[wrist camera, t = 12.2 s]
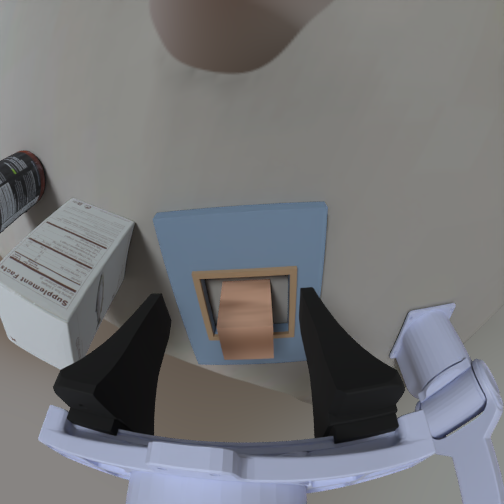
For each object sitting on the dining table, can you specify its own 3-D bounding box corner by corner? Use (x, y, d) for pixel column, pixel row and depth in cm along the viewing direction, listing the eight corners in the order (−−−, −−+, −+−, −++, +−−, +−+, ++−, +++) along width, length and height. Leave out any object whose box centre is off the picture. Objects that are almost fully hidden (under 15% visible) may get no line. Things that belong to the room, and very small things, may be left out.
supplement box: (125, 279, 27) (77, 380, 16) (67, 254, 25) (5, 339, 14) (138, 220, 23) (69, 326, 12) (72, 193, 21) (-17, 275, 11)
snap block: (270, 312, 29) (273, 358, 24) (228, 313, 29) (224, 359, 24) (269, 279, 26) (273, 326, 21) (222, 281, 27) (216, 328, 22)
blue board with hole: (310, 352, 33) (311, 362, 31) (199, 356, 33) (198, 366, 32) (324, 201, 22) (328, 209, 21) (157, 212, 23) (151, 221, 21)
